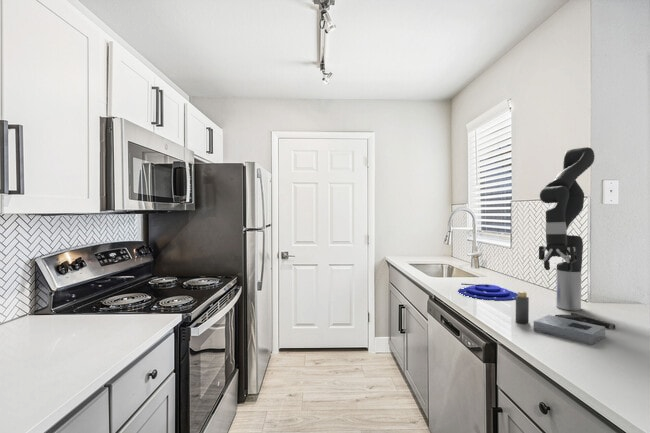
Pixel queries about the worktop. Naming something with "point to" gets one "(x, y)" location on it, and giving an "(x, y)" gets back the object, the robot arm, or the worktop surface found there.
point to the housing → (570, 329)
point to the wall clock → (488, 292)
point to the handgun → (588, 320)
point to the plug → (522, 308)
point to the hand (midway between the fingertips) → (557, 270)
